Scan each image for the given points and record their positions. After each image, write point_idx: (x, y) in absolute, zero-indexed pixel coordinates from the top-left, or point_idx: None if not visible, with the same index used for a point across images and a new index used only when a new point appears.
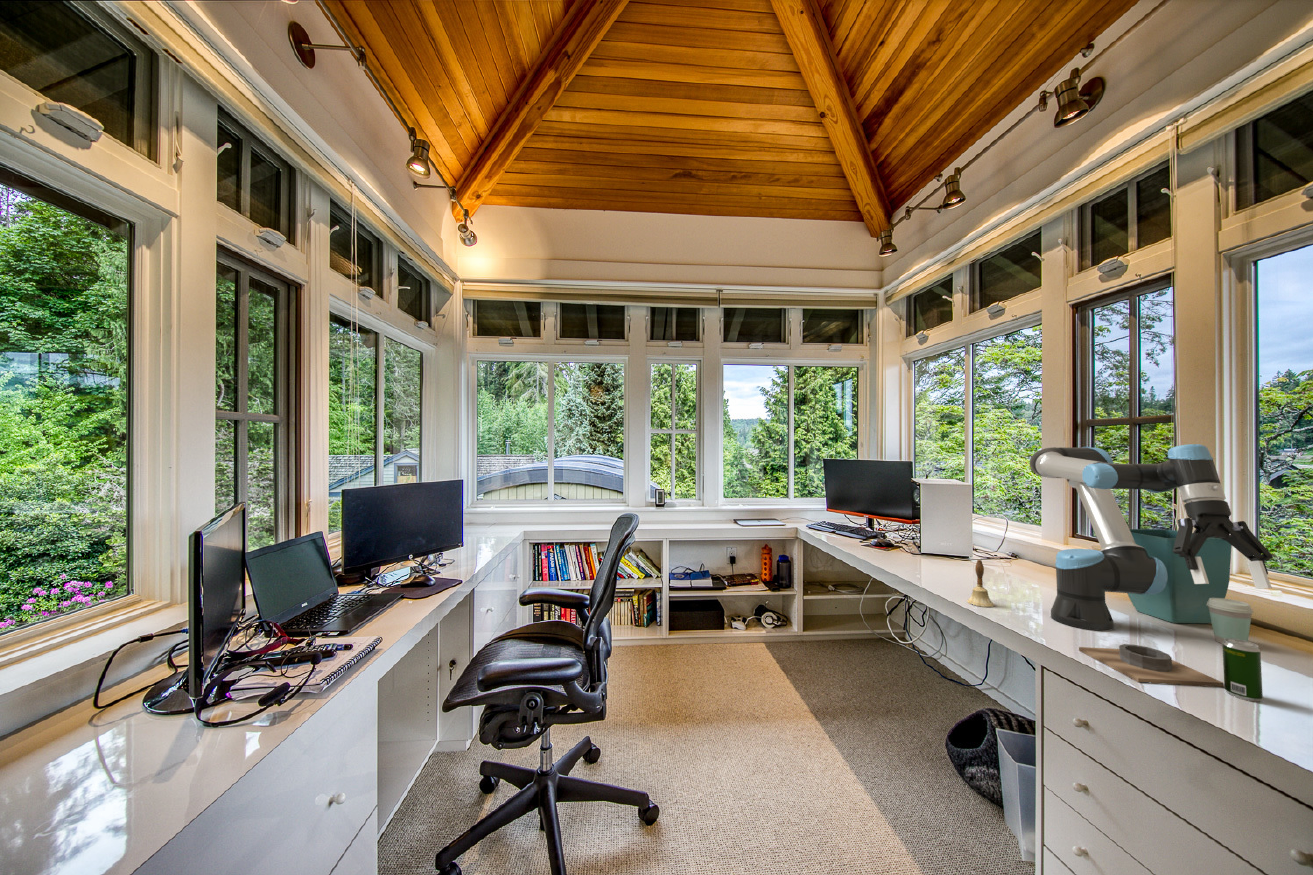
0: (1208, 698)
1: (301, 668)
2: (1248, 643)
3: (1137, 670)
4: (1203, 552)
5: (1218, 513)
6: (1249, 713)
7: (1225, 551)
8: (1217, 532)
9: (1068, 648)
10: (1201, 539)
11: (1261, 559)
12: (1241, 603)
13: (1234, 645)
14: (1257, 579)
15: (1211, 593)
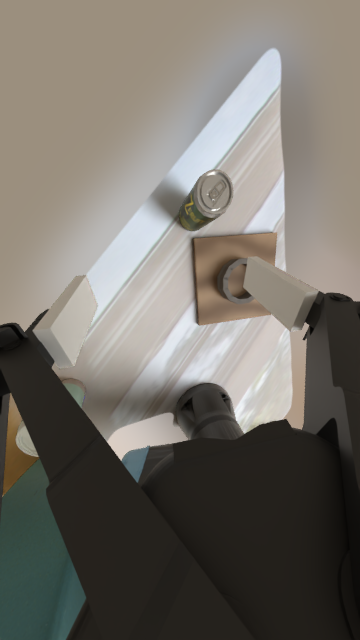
0: (235, 202)
1: None
2: (206, 190)
3: (261, 255)
4: None
5: None
6: (224, 166)
7: None
8: (273, 478)
9: (274, 317)
10: (358, 365)
11: (25, 339)
12: (22, 441)
13: (229, 185)
14: (87, 307)
15: (21, 498)
